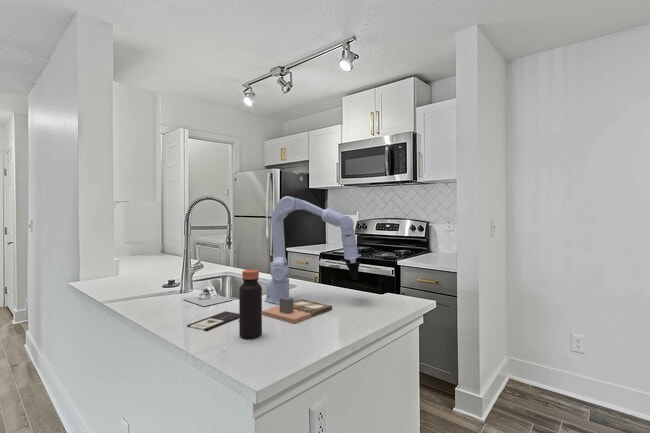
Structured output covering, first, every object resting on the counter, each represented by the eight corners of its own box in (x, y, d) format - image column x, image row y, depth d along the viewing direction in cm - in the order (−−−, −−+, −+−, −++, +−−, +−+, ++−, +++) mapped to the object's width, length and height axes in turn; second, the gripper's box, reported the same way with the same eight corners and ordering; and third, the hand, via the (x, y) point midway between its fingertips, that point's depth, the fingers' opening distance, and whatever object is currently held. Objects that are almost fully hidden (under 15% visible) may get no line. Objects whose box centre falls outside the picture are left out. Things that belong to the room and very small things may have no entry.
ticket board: (280, 309, 140) (280, 304, 140) (301, 302, 150) (301, 298, 149) (312, 317, 130) (312, 312, 130) (332, 309, 140) (332, 305, 140)
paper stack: (180, 313, 135) (180, 311, 135) (151, 301, 152) (151, 300, 152) (233, 301, 153) (233, 299, 153) (201, 291, 169) (201, 290, 169)
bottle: (235, 335, 112) (235, 270, 111) (253, 330, 116) (253, 268, 116) (247, 341, 107) (247, 273, 106) (266, 335, 112) (266, 271, 111)
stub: (262, 314, 133) (262, 297, 132) (279, 309, 140) (279, 292, 139) (294, 323, 123) (294, 304, 123) (311, 317, 130) (311, 299, 130)
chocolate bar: (244, 314, 131) (207, 329, 115) (244, 317, 131) (207, 332, 115) (225, 311, 135) (187, 325, 119) (225, 313, 135) (187, 327, 120)
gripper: (360, 245, 142) (366, 279, 142) (357, 242, 156) (362, 273, 156) (343, 248, 142) (348, 282, 142) (341, 244, 156) (346, 275, 156)
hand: (354, 277), depth 149 cm, fingers open, 7 cm apart
